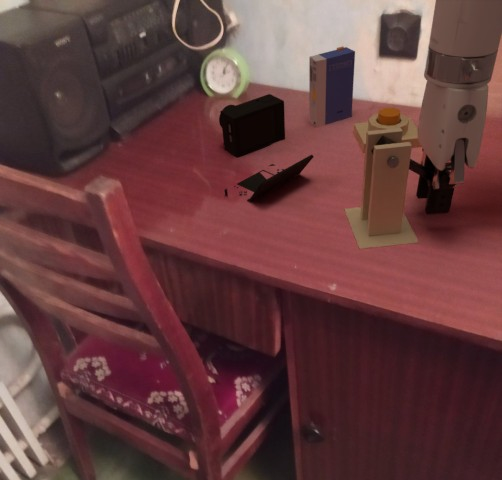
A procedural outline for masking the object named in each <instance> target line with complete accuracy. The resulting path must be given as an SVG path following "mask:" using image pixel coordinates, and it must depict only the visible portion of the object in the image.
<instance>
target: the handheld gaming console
mask: <svg viewBox="0 0 502 480" xmlns="http://www.w3.org/2000/svg"><path fill="white" fill-rule="evenodd" d="M313 159H314V155H313V154H310V155H308V156H306V157H305V158H303V159H301V160H299V161H297V162H295V163H293V164H292V165H291V166H288V167H286V168H281V171H280V169H279V168H277V169H276V173H275V174H274V173H271V172H269V171H268V170H269V169H270V168H269V167H275V166H277V165H276V164H274V163H271V164H269V165H268V167H267V170H265V169H261V170H260V171H258V172H256V173H254V174H252V175H250V176H248V177H246V178H245V179H243V180H241V181H239V182H237V183H236V185H237V186H236V185H233V187H234V188H235V187H236V189H239V187H242V188H244V189H246V190H248V191H250V192H252V195H250V198H247V200H246V202H248V203H252V202H253V201H255V200H257V199H259V198H261V197H263V196H264V195H266V194H267V193H270V192H272V191H273V190H274V189H277V188H278V187H280V186H282V185H283V184H285V183H287V182H288V181H290V180H292V179H293V178H295V177H297V176H299V175H300V174H301V173H302V172H303V171H304V170H305V168H306V167H307V166H308V164H309V163H310V162H311V161H312V160H313ZM262 172H265V173H267V174H269V175H271V176H270V177H268V178H267V177H265V175H263V174H262ZM246 190H245V191H242V190H240V191H239V194H238V195H239V196H240V197H241V196H248V194H247V193H248V191H246ZM243 192H244V194H242V193H243ZM224 195H225V196H226V197H229V194H228V188H225V189H224Z"/></svg>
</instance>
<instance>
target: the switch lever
mask: <svg viewBox="0 0 502 480" xmlns="http://www.w3.org/2000/svg"><path fill="white" fill-rule="evenodd" d="M394 143H396V142H394V141H392V140H390V139H388V138H387V137H385V136H383V135H382V137H381V138H380V139H379V141H378V142H377V143H376V145H385V144H394ZM376 145H375V146H376ZM371 152H372V154H373V153H374V148H373V149H372V150H371ZM409 171H411V172H413V173H415V174H417V175H420V176H422V177H424V178H426V179H428V186H433V178H434V171H435V170H434V171H432V170H430V169H428V168H426V167H424V166H423V165H421V163H419V162H417V161H415V160H413V158H410V164H409ZM450 173H451V170H446V171H442V174H441V177H442V176H443V175H446V174H450Z"/></svg>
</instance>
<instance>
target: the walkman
mask: <svg viewBox="0 0 502 480" xmlns="http://www.w3.org/2000/svg"><path fill="white" fill-rule="evenodd" d="M308 60H309V61H308V62H309V64H308V65H309V68H308V69H309V70H308V71H309V73H308V74H309V75H308V76H309V79H308V81H309V88H308V89H309V90H308V91H309V92H308V95H309V96H308V97H309V99H308V100H309V101H308V102H309V103H308V104H309V105H308V109H309V111H308V112H309V113H308V115H309V116H308V118H309V119H308V121H309V124H311V126H313V127H314V128H319V127H322V126H325V125H330V124H333V123H336V122H339V121H343V120H346V119H349V118H352V116H353V97H354V82H355V81H354V80H355V61H356V51H355V50H353V49H351V48H349V47H347V46H346V47H345V46H344V45H343V46H339V47H338V46H337V47H336V49H333V50H329V51H325V52H322V53H318V54H315V55H312V56H309V59H308Z"/></svg>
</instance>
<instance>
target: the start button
mask: <svg viewBox="0 0 502 480" xmlns="http://www.w3.org/2000/svg"><path fill="white" fill-rule="evenodd" d="M400 114H401V110H400V109H399V108H395V107H383V108H381V109H379V110H378V123H379V124H381V125H387V126H391V125H396V124H399V121H400Z"/></svg>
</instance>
